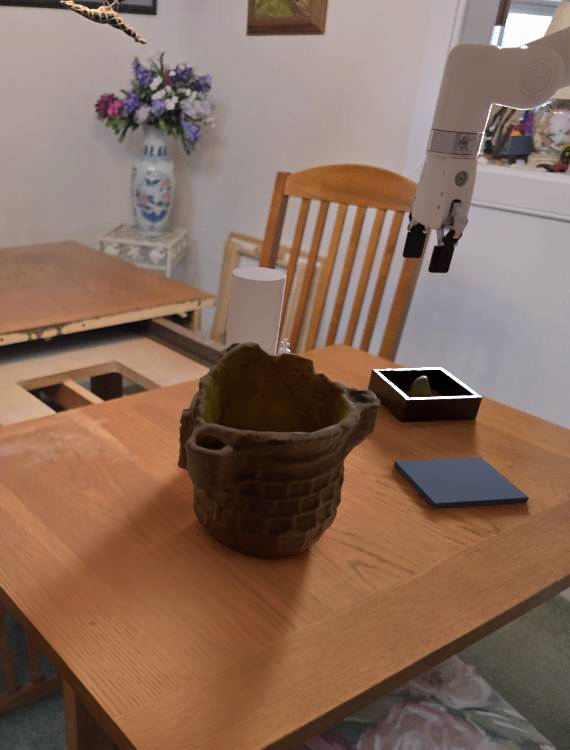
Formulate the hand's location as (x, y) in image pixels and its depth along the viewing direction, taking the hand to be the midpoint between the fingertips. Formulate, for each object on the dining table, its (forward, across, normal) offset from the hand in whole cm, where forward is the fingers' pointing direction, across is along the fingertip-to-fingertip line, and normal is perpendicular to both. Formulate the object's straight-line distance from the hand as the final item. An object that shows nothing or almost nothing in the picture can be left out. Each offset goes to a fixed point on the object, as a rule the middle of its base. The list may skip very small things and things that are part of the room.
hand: (424, 264), depth 115 cm
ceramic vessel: (+22, -43, +37) cm, 61 cm away
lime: (+22, -6, -3) cm, 23 cm away
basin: (+22, -6, -3) cm, 23 cm away
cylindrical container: (+22, -19, +33) cm, 44 cm away
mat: (+22, -33, +4) cm, 40 cm away
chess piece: (+22, 0, +22) cm, 31 cm away
